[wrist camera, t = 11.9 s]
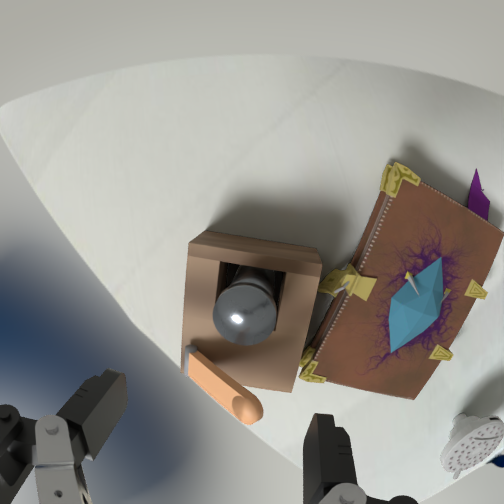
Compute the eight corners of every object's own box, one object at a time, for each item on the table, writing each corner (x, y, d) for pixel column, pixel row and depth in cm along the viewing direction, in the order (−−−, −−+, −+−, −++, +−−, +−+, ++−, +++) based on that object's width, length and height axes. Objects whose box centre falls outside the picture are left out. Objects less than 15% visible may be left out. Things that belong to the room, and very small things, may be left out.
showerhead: (428, 483, 26) (475, 428, 23) (414, 445, 33) (452, 390, 30) (477, 476, 26) (520, 424, 23) (461, 444, 33) (497, 393, 30)
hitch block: (204, 230, 28) (188, 242, 24) (316, 248, 28) (322, 264, 23) (194, 345, 31) (180, 372, 27) (291, 362, 31) (291, 392, 26)
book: (502, 190, 25) (532, 196, 21) (407, 385, 32) (421, 411, 27) (381, 115, 25) (403, 106, 20) (281, 352, 31) (283, 383, 26)
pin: (235, 250, 29) (215, 283, 20) (282, 258, 28) (281, 294, 20) (230, 294, 30) (209, 339, 21) (274, 301, 29) (270, 349, 21)
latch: (192, 343, 26) (182, 346, 25) (267, 400, 20) (257, 406, 19) (191, 369, 26) (181, 372, 26) (260, 427, 21) (251, 433, 20)
